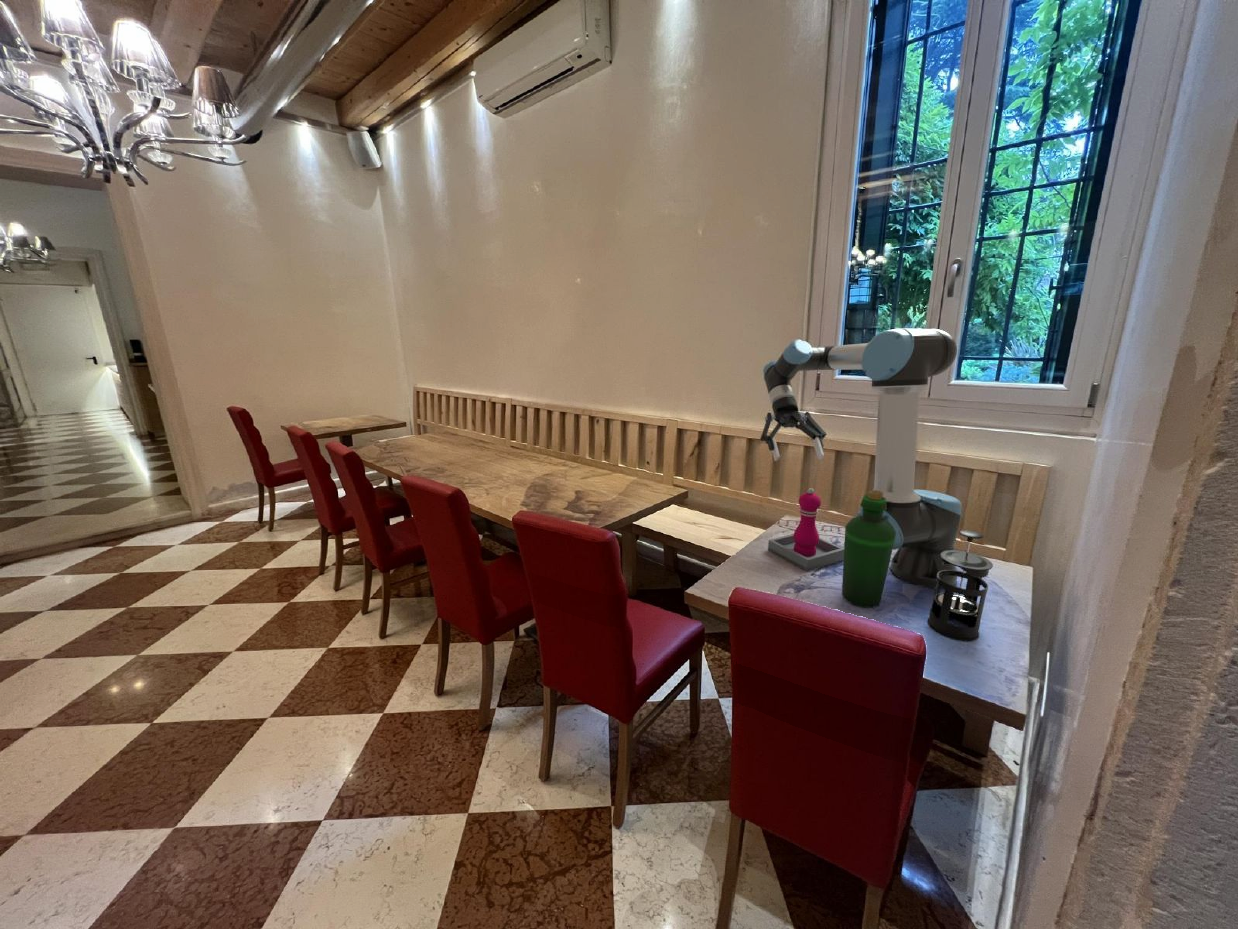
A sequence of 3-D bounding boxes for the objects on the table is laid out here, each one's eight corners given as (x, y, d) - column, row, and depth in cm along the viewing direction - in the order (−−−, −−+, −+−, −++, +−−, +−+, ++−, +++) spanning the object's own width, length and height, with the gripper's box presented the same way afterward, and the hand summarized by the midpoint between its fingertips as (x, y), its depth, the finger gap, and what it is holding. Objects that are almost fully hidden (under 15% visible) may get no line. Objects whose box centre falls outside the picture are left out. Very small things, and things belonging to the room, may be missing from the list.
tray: (844, 560, 134) (845, 549, 133) (806, 571, 128) (807, 560, 127) (803, 541, 147) (804, 531, 146) (767, 550, 141) (768, 540, 140)
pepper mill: (820, 558, 134) (827, 492, 128) (793, 556, 135) (799, 491, 130) (815, 547, 140) (821, 485, 135) (790, 545, 142) (795, 483, 137)
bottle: (882, 592, 117) (898, 487, 109) (888, 615, 107) (905, 502, 100) (836, 585, 121) (848, 483, 113) (837, 606, 111) (851, 497, 104)
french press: (961, 647, 96) (982, 546, 90) (916, 624, 104) (932, 529, 98) (992, 631, 101) (1014, 534, 95) (946, 610, 109) (963, 519, 103)
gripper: (816, 408, 154) (834, 463, 144) (742, 410, 153) (755, 465, 142) (825, 394, 148) (844, 450, 137) (749, 396, 147) (762, 452, 136)
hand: (799, 458), depth 140 cm, fingers open, 13 cm apart
